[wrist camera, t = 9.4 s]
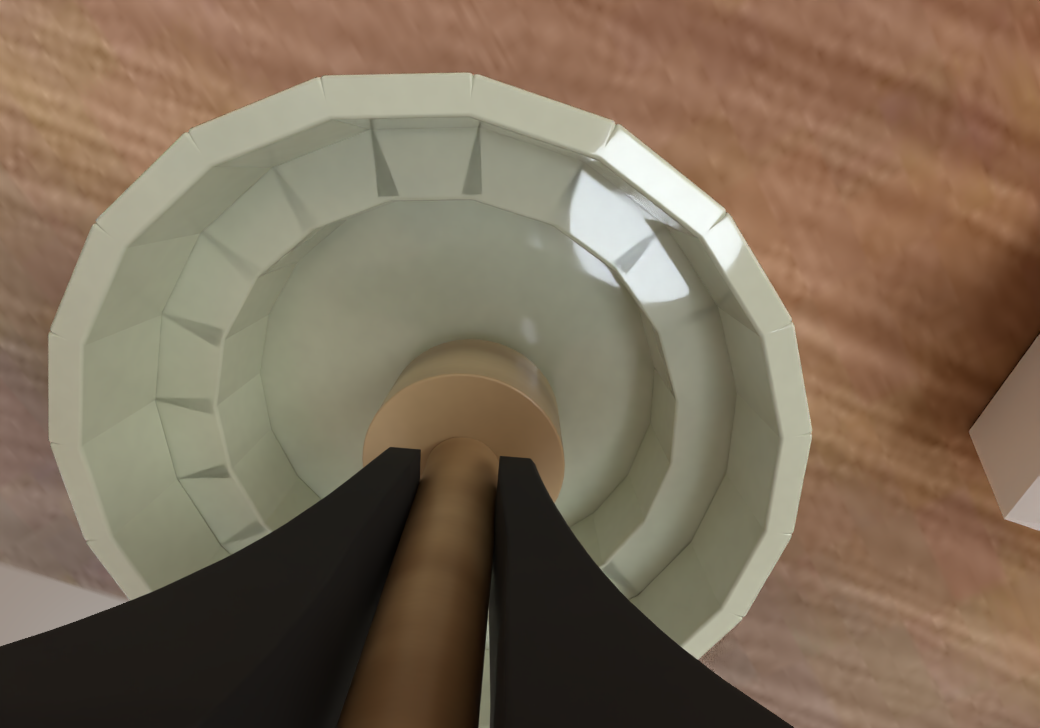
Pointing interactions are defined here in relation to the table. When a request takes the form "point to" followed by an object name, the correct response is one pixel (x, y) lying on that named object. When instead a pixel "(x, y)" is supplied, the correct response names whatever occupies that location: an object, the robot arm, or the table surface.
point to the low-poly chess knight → (1014, 441)
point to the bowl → (427, 334)
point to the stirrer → (448, 528)
